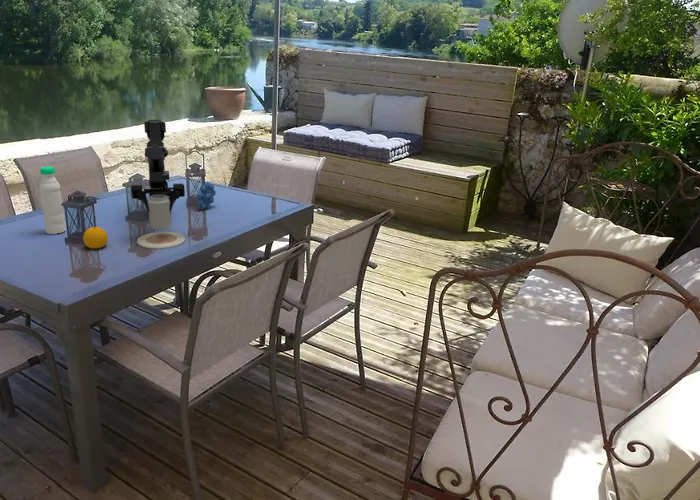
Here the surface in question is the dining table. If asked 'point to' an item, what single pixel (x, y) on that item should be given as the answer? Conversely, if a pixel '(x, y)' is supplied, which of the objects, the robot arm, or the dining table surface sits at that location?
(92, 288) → the dining table surface
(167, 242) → the saucer
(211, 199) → the grapes
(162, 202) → the can
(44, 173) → the milk bottle
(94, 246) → the orange
